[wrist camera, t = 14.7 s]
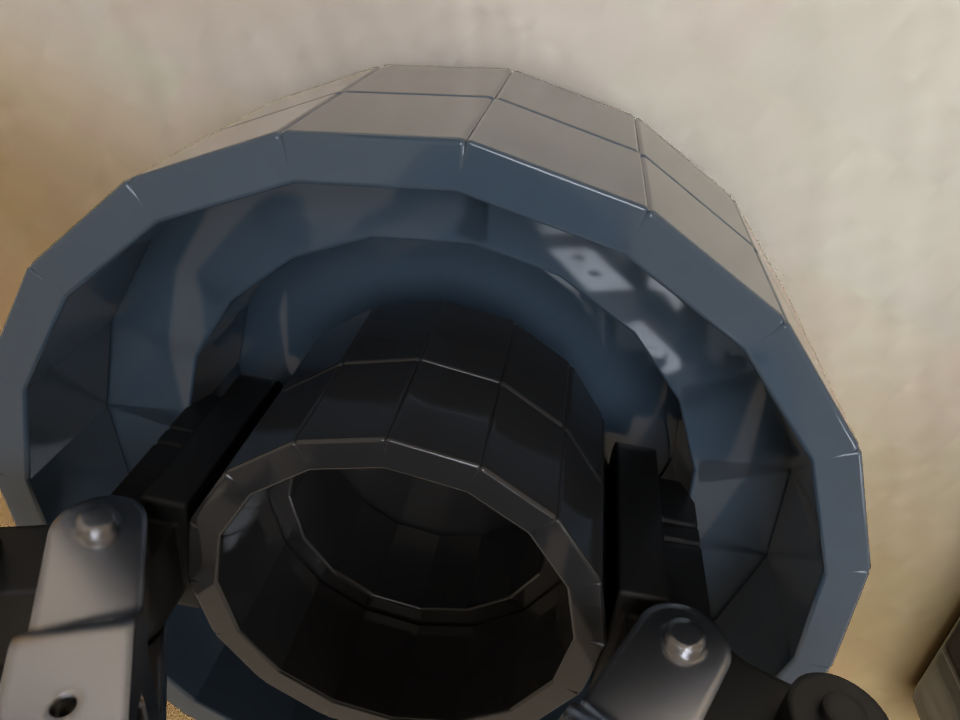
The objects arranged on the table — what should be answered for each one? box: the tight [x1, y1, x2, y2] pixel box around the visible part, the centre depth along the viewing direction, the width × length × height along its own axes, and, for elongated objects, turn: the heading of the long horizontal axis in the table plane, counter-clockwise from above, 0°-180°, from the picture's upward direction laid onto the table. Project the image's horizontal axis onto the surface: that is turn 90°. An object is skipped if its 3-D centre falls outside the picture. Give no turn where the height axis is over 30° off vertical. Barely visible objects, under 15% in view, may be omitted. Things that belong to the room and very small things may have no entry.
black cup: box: [187, 302, 608, 720], centre depth 13 cm, size 6×6×4 cm
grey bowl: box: [0, 65, 871, 720], centre depth 13 cm, size 13×13×5 cm
